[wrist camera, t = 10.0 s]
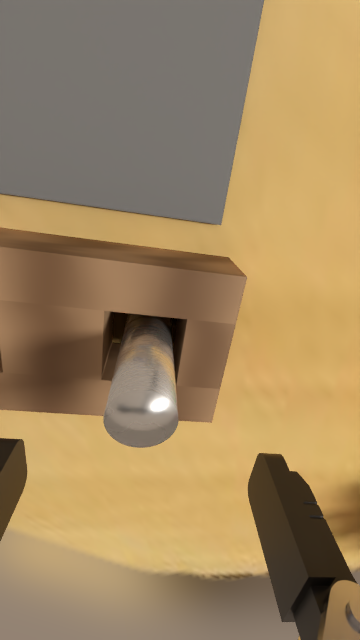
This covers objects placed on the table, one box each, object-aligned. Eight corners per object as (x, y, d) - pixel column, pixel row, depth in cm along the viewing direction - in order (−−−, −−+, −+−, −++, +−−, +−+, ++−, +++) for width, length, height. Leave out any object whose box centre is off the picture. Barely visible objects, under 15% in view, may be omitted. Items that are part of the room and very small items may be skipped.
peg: (172, 301, 21) (183, 393, 11) (167, 338, 22) (173, 449, 13) (129, 296, 20) (104, 387, 11) (126, 334, 21) (102, 445, 12)
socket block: (228, 257, 19) (247, 277, 15) (202, 381, 24) (211, 422, 19) (-106, 214, 17) (-188, 223, 13) (-70, 359, 21) (-125, 401, 17)
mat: (270, -44, 14) (273, -51, 13) (219, 224, 19) (221, 224, 18) (-57, -129, 12) (-64, -139, 12) (-18, 190, 17) (-22, 190, 17)
